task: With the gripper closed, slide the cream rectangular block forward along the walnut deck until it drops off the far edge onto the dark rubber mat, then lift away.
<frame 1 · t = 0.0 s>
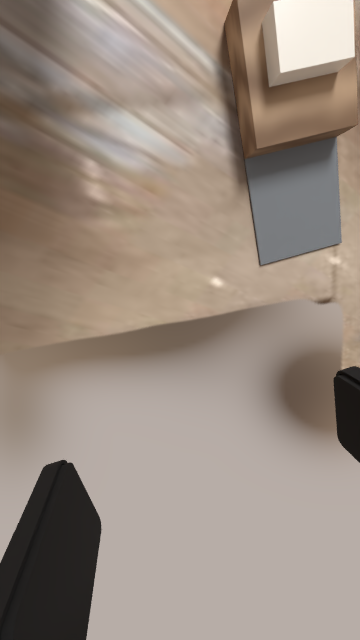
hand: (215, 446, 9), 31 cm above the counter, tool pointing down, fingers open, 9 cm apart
cream rectangular block: (301, 48, 29), point 4 cm above the counter, touching walnut deck
rubber mat: (295, 204, 38), on the counter
walnut deck: (284, 85, 33), on the counter
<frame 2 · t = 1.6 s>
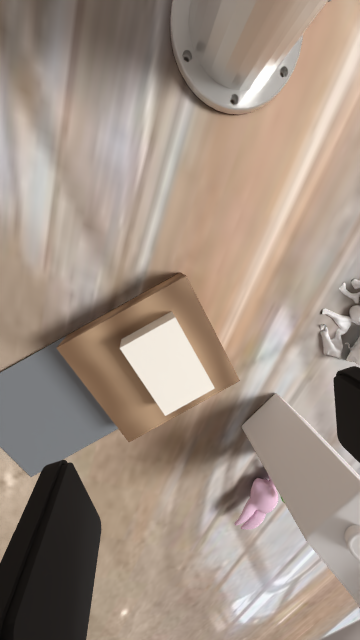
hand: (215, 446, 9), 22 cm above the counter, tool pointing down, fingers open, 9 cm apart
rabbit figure: (262, 476, 40), on the counter
cream rectangular block: (167, 359, 27), point 4 cm above the counter, touching walnut deck
rubber mat: (48, 409, 31), on the counter
milk carton: (271, 420, 37), on the counter
walnut deck: (153, 351, 31), on the counter
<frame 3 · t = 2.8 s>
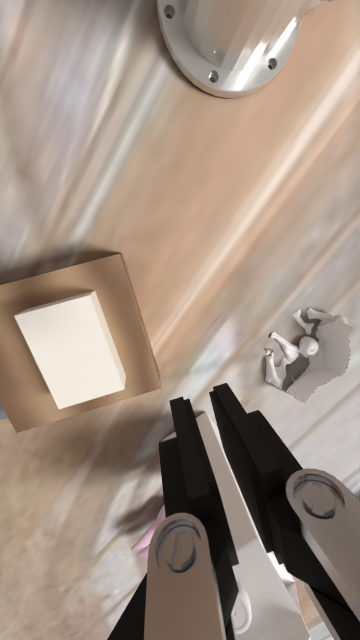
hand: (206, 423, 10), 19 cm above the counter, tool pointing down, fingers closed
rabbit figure: (176, 500, 36), on the counter
cream rectangular block: (80, 344, 23), point 4 cm above the counter, touching walnut deck
milk carton: (196, 441, 34), on the counter
walnut deck: (75, 335, 27), on the counter
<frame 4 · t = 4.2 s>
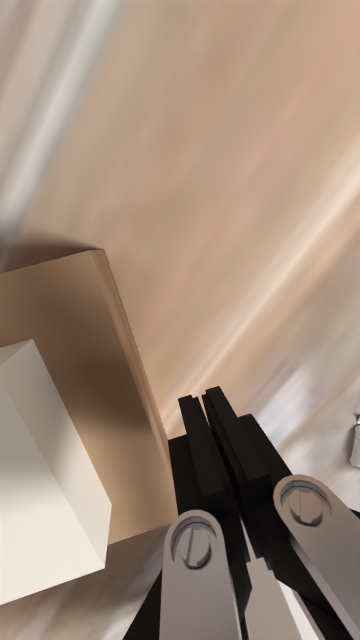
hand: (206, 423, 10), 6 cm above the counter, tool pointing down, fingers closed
cream rectangular block: (7, 454, 10), point 4 cm above the counter, touching walnut deck
milk carton: (231, 554, 21), on the counter
walnut deck: (16, 407, 14), on the counter
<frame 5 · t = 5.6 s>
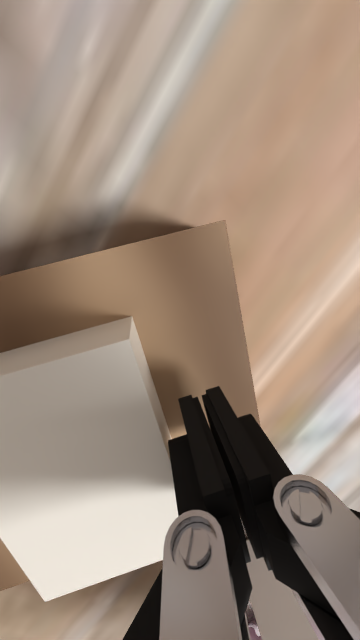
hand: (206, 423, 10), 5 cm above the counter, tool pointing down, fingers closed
cream rectangular block: (94, 434, 10), point 4 cm above the counter, touching gripper, walnut deck
milk carton: (286, 542, 21), on the counter
walnut deck: (100, 386, 14), on the counter
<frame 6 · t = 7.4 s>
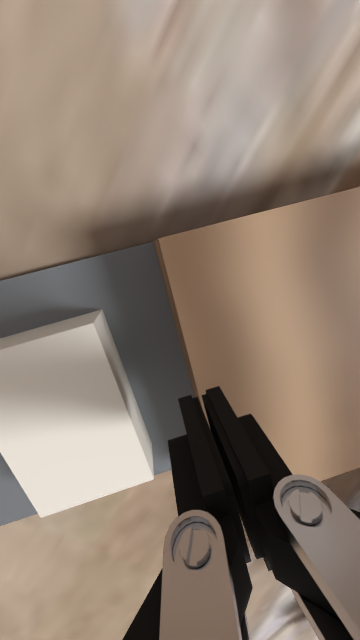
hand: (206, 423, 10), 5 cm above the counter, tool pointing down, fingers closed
cream rectangular block: (64, 430, 12), point 3 cm above the counter, tilted 180°, touching rubber mat
rubber mat: (58, 400, 14), on the counter
walnut deck: (302, 327, 15), on the counter
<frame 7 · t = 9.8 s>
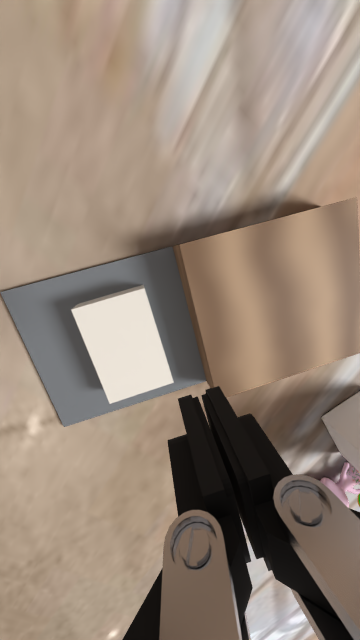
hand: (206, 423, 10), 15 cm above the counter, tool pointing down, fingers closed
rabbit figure: (325, 477, 34), on the counter
cream rectangular block: (126, 348, 21), point 3 cm above the counter, tilted 180°, touching rubber mat
rubber mat: (115, 340, 24), on the counter
milk carton: (351, 418, 32), on the counter
walnut deck: (260, 297, 25), on the counter
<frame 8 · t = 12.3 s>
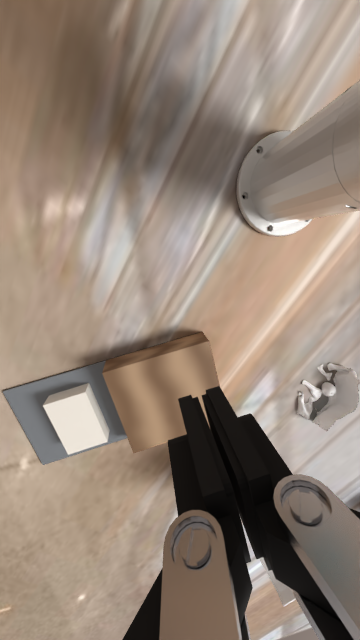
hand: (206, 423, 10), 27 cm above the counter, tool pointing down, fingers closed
cream rectangular block: (76, 424, 36), point 3 cm above the counter, tilted 180°, touching rubber mat
rubber mat: (73, 414, 38), on the counter
milk carton: (242, 454, 46), on the counter
walnut deck: (166, 385, 39), on the counter
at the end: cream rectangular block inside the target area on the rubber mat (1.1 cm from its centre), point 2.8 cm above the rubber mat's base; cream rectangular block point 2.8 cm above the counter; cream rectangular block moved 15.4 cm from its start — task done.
